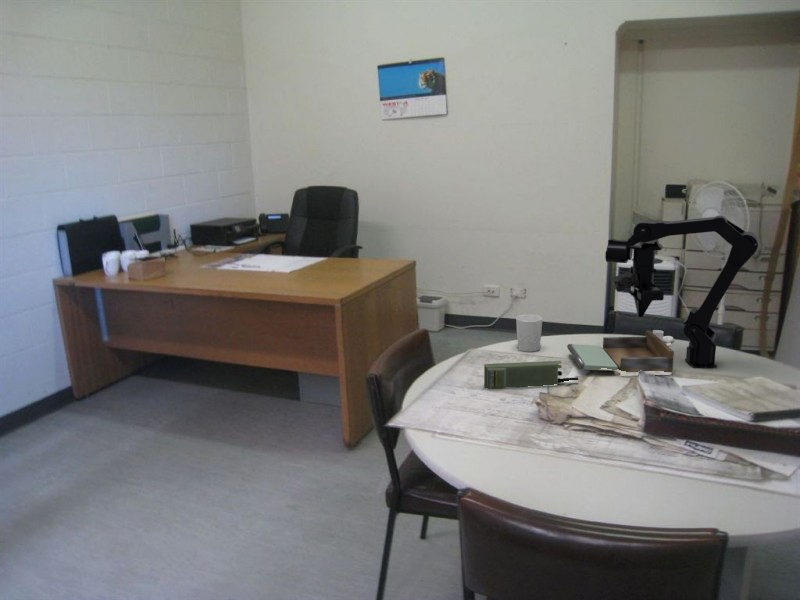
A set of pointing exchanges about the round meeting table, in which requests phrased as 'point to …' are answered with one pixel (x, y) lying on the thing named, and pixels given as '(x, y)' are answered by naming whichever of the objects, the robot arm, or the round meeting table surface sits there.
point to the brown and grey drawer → (639, 353)
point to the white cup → (529, 332)
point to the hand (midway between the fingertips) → (640, 316)
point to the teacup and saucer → (665, 339)
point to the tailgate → (591, 357)
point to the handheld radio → (523, 374)
